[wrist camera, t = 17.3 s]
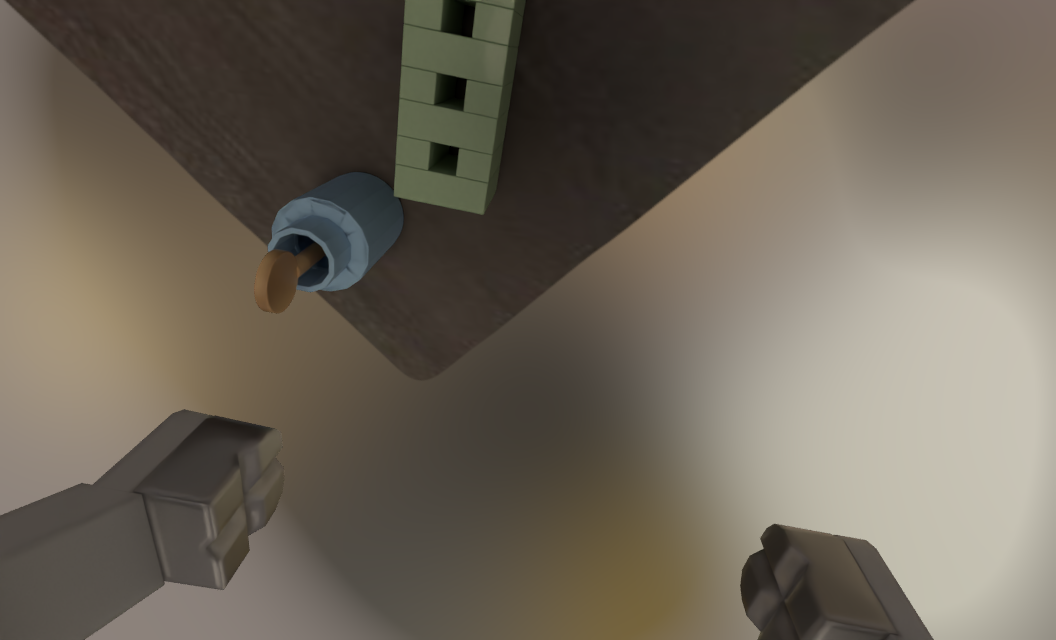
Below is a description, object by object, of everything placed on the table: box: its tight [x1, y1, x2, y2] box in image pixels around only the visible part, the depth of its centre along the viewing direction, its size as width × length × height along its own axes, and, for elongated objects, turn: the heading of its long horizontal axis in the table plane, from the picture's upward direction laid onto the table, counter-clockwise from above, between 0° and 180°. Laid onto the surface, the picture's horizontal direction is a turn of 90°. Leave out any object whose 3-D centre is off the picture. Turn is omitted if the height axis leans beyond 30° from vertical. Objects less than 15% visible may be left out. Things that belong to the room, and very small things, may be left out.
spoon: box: [254, 242, 326, 313], centre depth 37 cm, size 4×1×17 cm, turn 170°
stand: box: [394, 0, 526, 215], centre depth 36 cm, size 16×7×7 cm, turn 169°
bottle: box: [268, 172, 404, 292], centre depth 40 cm, size 7×7×12 cm
